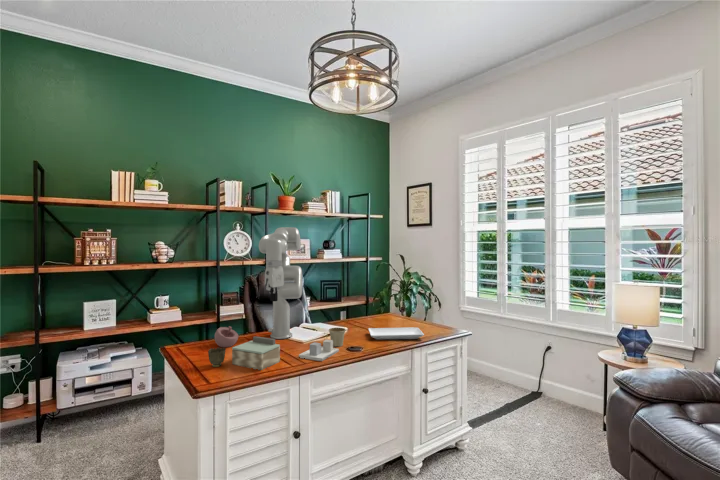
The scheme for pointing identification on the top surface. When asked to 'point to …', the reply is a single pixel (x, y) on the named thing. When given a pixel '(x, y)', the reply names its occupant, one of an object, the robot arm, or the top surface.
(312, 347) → the grey block
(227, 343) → the mortar and pestle
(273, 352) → the birch box
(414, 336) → the tray
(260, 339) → the lid
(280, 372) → the top surface
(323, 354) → the white dish
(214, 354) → the cup
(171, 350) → the top surface
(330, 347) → the beige block
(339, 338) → the flower pot
